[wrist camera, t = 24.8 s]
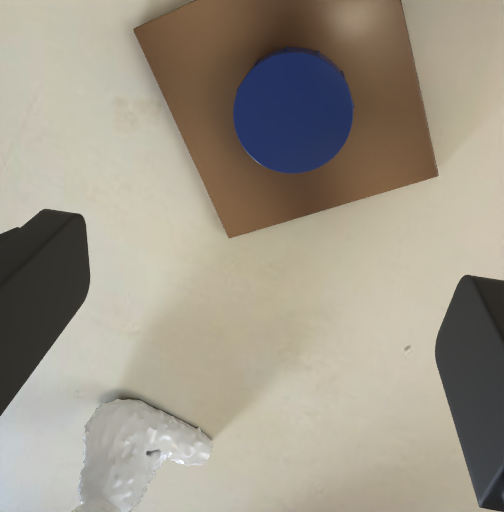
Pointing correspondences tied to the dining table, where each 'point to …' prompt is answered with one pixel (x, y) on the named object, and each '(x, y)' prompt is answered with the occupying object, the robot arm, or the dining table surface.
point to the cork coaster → (241, 62)
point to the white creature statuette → (132, 453)
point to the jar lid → (293, 110)
